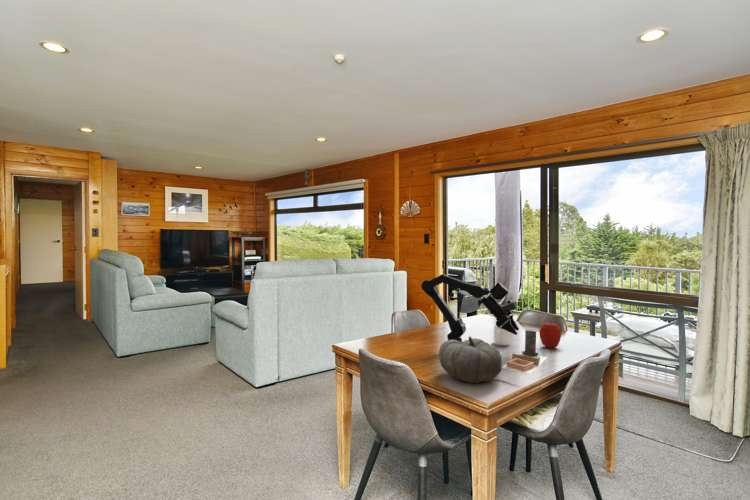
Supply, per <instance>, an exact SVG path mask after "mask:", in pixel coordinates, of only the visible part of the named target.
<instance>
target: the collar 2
mask: <svg viewBox="0 0 750 500" xmlns="http://www.w3.org/2000/svg"><path fill="white" fill-rule="evenodd" d="M520 353H521V354H523V355H525V350H521V352H520ZM540 356H541V352H537V351H536V357H539V361H540ZM534 357H535V356H534Z"/></svg>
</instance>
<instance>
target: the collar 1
mask: <svg viewBox="0 0 750 500" xmlns="http://www.w3.org/2000/svg"><path fill="white" fill-rule="evenodd" d="M517 363H518V364H517ZM506 364H507V366H508V367H511V368H515V369H518V370H522V371H526V370H528V369H531V368H533V367H534V362H530V361H526V360H522V359H518V358H515V359H513V360H512V359H511V360H508V361H506ZM520 364H521V365H520Z"/></svg>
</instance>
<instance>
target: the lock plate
mask: <svg viewBox="0 0 750 500" xmlns="http://www.w3.org/2000/svg"><path fill="white" fill-rule="evenodd" d="M515 358H518V359H522V360H526V361H530V362H534V367H533V368H531V369H528V370H526V371H522V370H518V369H515V368H511V367H508V366H507V363H505V364H504V365H503V366H501V369H505V370H511V371H515V372H520V373H524V374H529V375H531V374H533V372H534V371H535V370H536V369H537V368H538V367H540V365H541V364H543V363H544V362H545V361H546V360H547V359H548V356H542V355H540V361H539V357H534V356H528V355H523V354H521V352H520V353H516V352H513V353H512V355H511V360H513V359H515ZM517 364H518V363H517ZM520 365H521V364H520Z"/></svg>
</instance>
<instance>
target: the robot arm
mask: <svg viewBox="0 0 750 500" xmlns="http://www.w3.org/2000/svg"><path fill="white" fill-rule="evenodd" d="M442 283H443V284H446V285H448V286H451V287H454V288H457V289H459V290H462V291H464V292H465V293H467V294H469V295H470V296H473V297H474V298H475V299H477V306H478V307H480V306H481V305H483V306H484V308H485V309H487V311H489V314H490V315H492V316H493V317H494V318H495V320H496V321H495V324H496V325H497V327H498V328H499V327H500V328H501V329H504V330H506V331H508V332H510V333H511V334H513V335H515V336H517V335H518V332H517V331H519V330H520V328H519V326H518V325H517V323H516V322H515V320H514V312H513V311H514V310H517V308H518V307H517V305H516V302H515V300H514V301H512V300H511V299H510V300H507V301H506V303H505V304H502V303H499V302H498V300H499V301H501V300H503V299H504V298H505V297H506V296H507V295H508V294H509V293H510V291H509V289H508V287H506V286H505V285H503V284H502V283H500V282H497V283H496V284H495V285H494V286H493V287H492V288H488V287H485V285H482V284H478V283H470V282H466V281H463V280H461V279H458V278H455V277H452V276H449V275H447V274H446V273H443V274H440V275H439V276H437V277H434V278H432V279H426V280H423V281H422V282H421V285H420V286H421V289H422V291H423V292H424V293H425V294H426V295H427V296H429V297H430V298H431V299H432V301H433V302H434V304H435V305H436V306H437V309H438V310H439V311H440V312H441V314H442V315H443V317H444V318H445V320H446V321H447V322H448V327H449V330H450V332H449V333H448V334H446V338H447V341H448V340H457V341H460V342H463V338H462V336H463V335H464V334H465V333H466V331H467V328H466V323H465V322H464V321H463V319H462V318H461V317H460V318H457V316H455V314H454V313H453V312H452V310H451V309H450V307H449V306H448V304H447V302H446V301H445V300H444V299H443V297H442V295H441V294H440V293H439V292H440V291H439V288H438V285H441V284H442ZM480 298H481V299H480Z"/></svg>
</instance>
